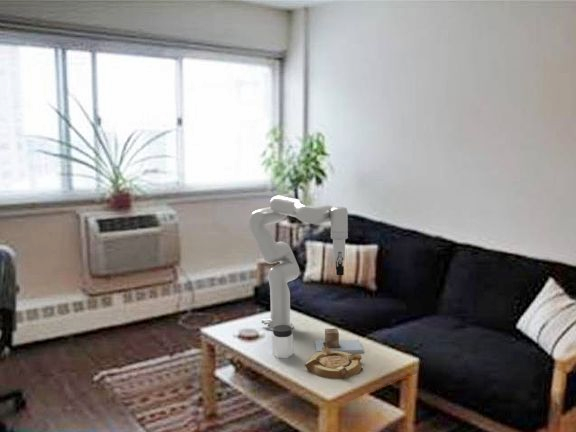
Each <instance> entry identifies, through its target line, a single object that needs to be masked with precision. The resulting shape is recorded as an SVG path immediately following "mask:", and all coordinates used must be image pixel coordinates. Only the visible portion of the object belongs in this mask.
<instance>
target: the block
mask: <svg viewBox="0 0 576 432" xmlns="http://www.w3.org/2000/svg"><path fill="white" fill-rule="evenodd" d="M339 337H340V332H339V329H338V328H324V340H325V347H328V348H339V340H340V338H339Z"/></svg>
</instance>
